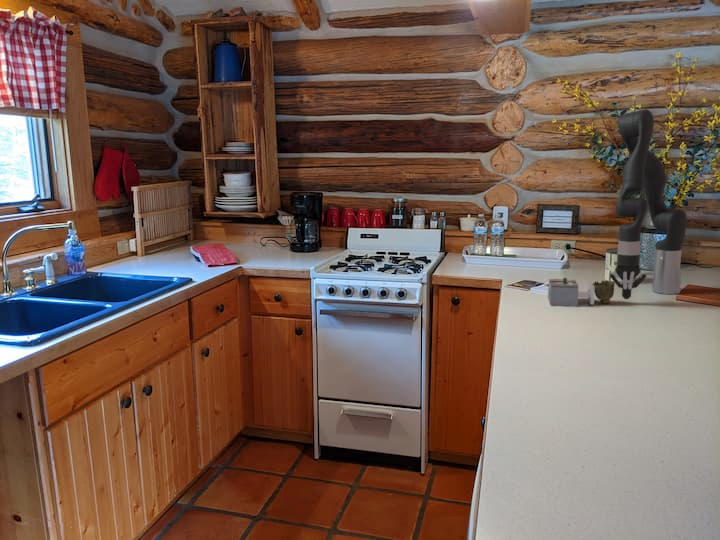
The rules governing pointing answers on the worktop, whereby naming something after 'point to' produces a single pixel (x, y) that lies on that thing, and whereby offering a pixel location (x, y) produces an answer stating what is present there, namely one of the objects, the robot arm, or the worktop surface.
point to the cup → (604, 291)
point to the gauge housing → (563, 293)
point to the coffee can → (611, 264)
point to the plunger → (588, 293)
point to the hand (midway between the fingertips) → (626, 298)
